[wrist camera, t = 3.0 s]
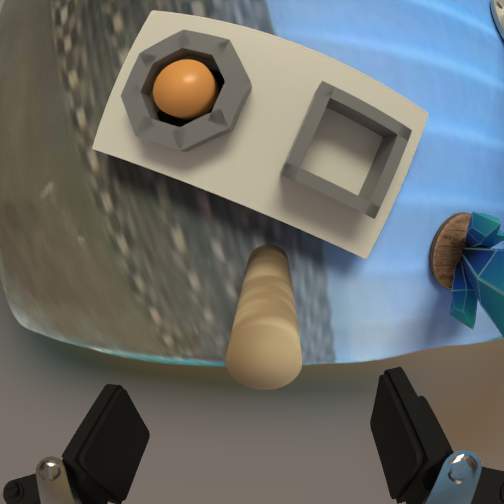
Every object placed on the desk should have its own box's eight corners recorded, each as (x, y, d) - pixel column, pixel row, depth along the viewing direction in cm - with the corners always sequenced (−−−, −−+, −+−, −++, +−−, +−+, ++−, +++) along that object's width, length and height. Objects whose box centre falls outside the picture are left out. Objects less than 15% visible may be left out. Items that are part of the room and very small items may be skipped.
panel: (414, 117, 18) (446, 109, 13) (357, 249, 22) (377, 272, 17) (162, 22, 17) (139, -4, 12) (108, 148, 20) (72, 148, 16)
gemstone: (418, 294, 23) (488, 376, 11) (438, 200, 20) (540, 239, 9) (472, 295, 22) (541, 360, 11) (492, 213, 20) (581, 250, 8)
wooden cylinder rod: (295, 254, 22) (315, 348, 11) (278, 288, 23) (281, 397, 12) (257, 238, 22) (241, 321, 11) (242, 273, 23) (215, 375, 12)
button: (227, 76, 17) (222, 67, 15) (205, 126, 18) (198, 123, 16) (177, 63, 17) (167, 54, 15) (155, 111, 18) (144, 107, 16)
